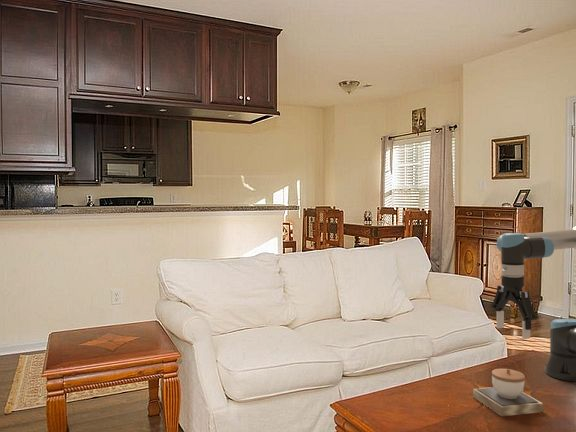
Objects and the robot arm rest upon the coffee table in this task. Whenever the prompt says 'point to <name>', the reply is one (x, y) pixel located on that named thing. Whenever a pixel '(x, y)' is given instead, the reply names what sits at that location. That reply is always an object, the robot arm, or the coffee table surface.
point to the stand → (507, 402)
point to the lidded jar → (508, 382)
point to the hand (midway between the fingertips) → (512, 333)
